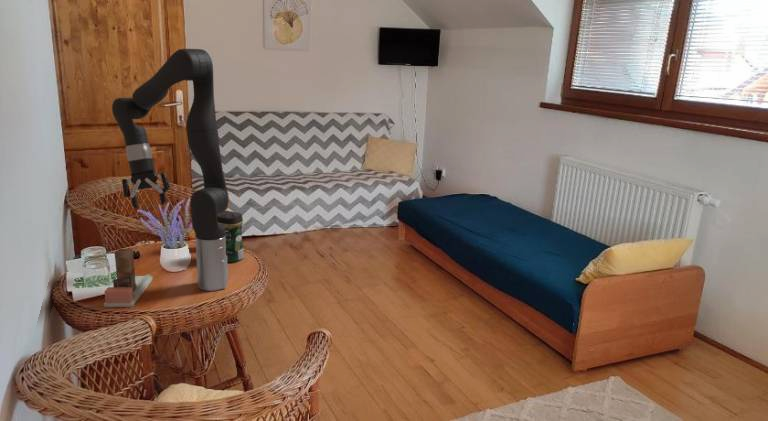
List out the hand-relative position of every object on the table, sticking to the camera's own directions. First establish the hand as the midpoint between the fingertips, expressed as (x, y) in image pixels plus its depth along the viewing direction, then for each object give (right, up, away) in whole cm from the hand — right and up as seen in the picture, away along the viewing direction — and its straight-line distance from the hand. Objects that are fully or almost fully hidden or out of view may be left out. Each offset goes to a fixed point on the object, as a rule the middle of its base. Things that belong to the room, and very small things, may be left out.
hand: (150, 206), depth 184 cm
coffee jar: (+20, -20, +22) cm, 36 cm away
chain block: (-2, -27, -13) cm, 30 cm away
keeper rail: (-2, -27, -10) cm, 29 cm away
